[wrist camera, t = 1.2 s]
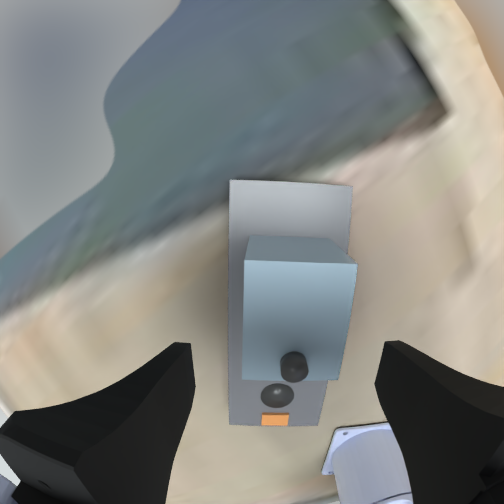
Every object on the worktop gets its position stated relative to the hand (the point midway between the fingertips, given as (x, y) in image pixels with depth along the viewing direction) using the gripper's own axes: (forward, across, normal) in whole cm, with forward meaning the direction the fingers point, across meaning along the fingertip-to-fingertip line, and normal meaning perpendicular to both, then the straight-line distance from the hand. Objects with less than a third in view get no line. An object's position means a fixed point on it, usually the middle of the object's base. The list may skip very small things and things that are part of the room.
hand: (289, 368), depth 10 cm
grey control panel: (+10, 0, +3) cm, 11 cm away
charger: (+10, 0, 0) cm, 10 cm away
